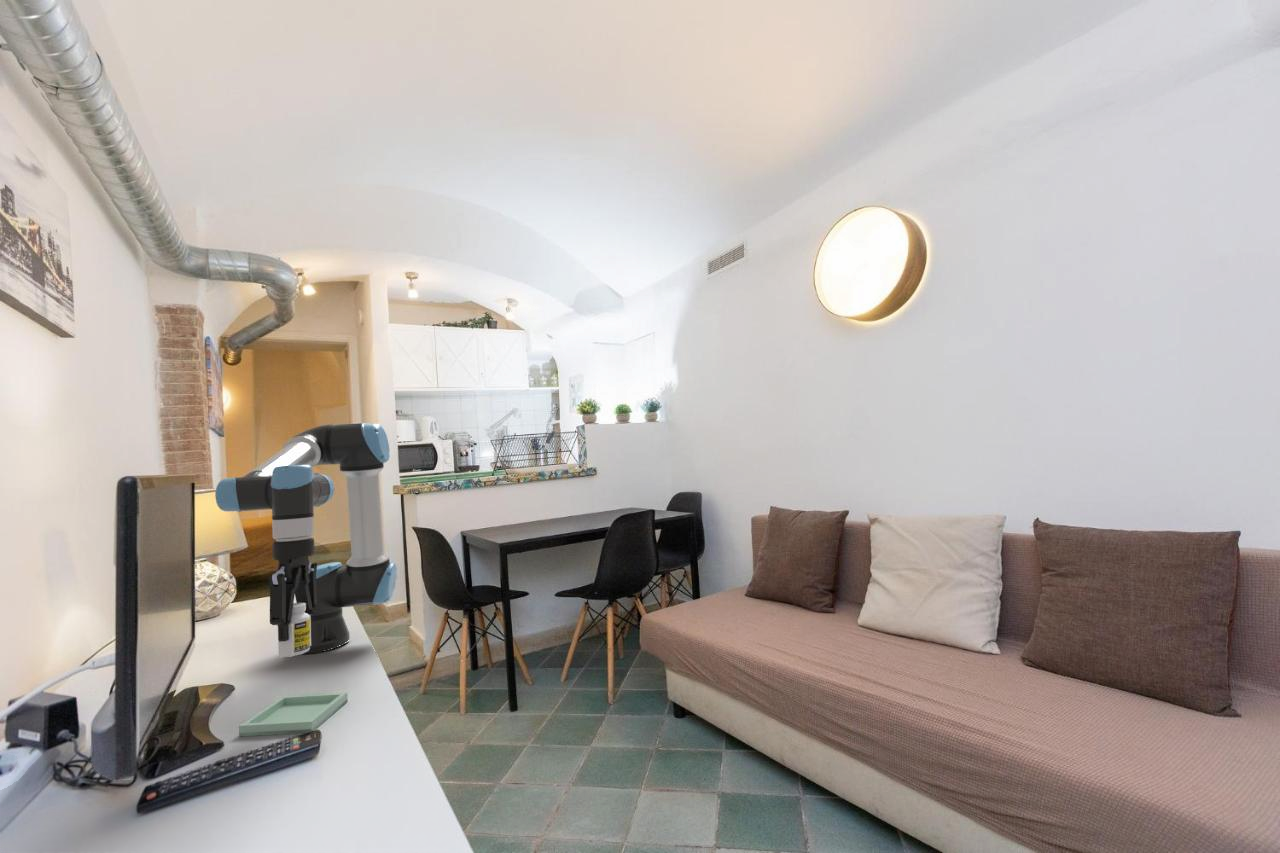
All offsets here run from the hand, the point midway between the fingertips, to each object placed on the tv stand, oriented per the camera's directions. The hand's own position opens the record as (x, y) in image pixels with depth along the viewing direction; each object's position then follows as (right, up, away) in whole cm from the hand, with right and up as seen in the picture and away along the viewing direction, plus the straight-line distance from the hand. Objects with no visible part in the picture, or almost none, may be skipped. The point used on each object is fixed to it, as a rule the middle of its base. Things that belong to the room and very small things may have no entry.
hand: (295, 651), depth 119 cm
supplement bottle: (0, -1, 0) cm, 1 cm away
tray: (+1, -14, -1) cm, 14 cm away
